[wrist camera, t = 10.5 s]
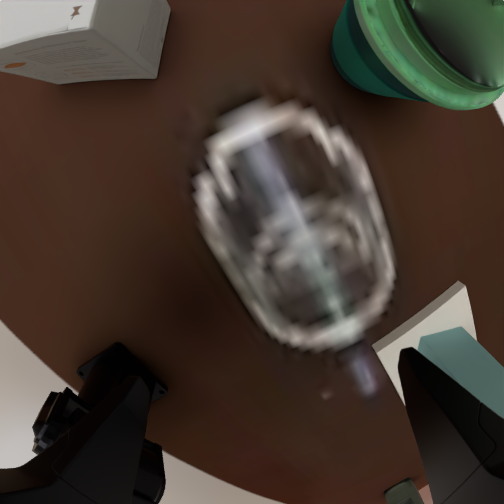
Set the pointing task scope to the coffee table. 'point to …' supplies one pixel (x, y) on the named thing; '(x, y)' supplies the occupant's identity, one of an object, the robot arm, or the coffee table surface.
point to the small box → (82, 39)
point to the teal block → (467, 365)
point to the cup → (423, 50)
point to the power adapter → (403, 493)
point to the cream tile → (425, 328)
